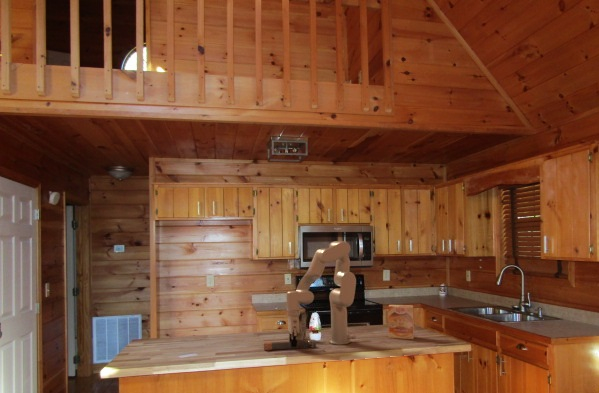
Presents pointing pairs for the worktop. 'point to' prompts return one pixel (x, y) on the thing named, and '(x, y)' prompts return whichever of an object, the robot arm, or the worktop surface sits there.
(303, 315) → the coffee box
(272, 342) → the arm
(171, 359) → the worktop surface
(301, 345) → the tongs moving arm
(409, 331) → the coffeecake box
